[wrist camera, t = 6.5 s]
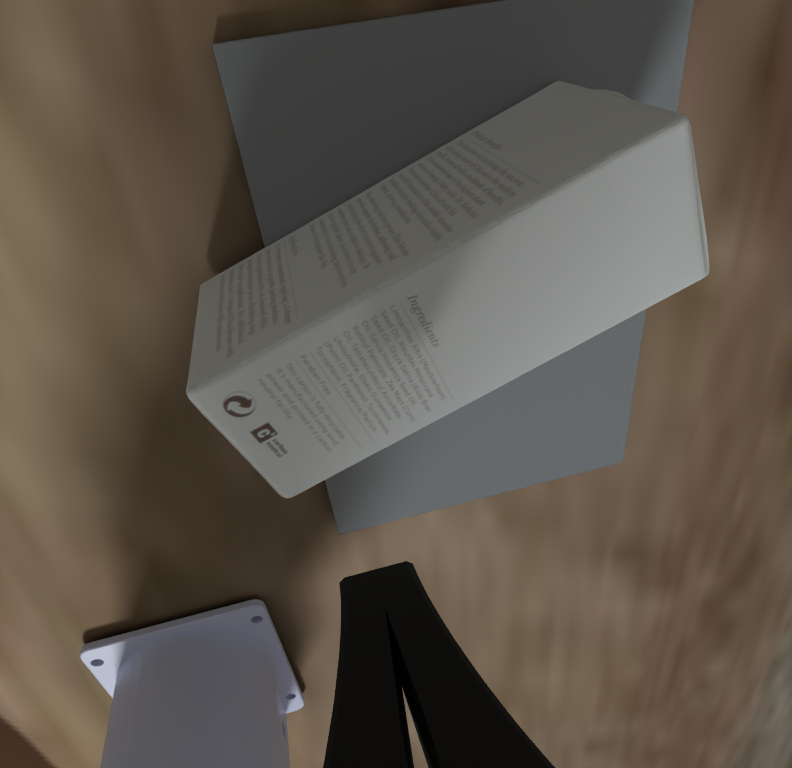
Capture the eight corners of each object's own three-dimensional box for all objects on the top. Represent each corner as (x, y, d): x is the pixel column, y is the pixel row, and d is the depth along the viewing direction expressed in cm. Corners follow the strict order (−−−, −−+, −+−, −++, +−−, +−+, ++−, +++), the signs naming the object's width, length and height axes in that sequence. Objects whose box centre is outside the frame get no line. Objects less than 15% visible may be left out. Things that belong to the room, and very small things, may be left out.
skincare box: (285, 508, 15) (720, 280, 14) (176, 396, 12) (696, 105, 11) (275, 379, 20) (594, 203, 19) (195, 280, 17) (558, 70, 16)
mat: (617, 454, 26) (622, 461, 26) (337, 525, 25) (339, 534, 24) (686, -27, 16) (698, -28, 15) (213, 43, 14) (211, 45, 14)
